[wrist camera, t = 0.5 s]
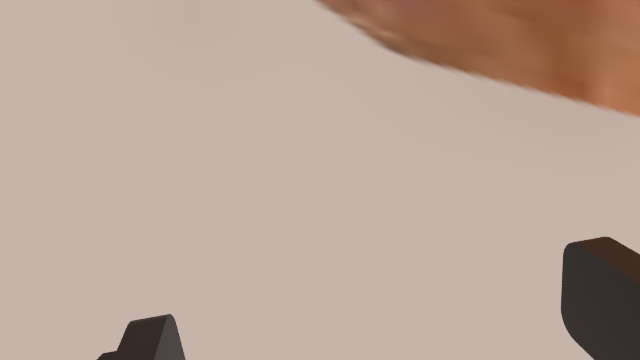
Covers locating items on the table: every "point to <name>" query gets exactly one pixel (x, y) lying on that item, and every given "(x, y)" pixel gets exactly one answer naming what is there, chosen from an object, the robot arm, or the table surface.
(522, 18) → the table surface
